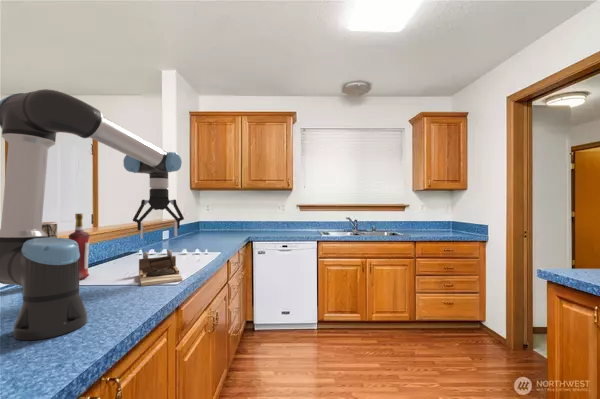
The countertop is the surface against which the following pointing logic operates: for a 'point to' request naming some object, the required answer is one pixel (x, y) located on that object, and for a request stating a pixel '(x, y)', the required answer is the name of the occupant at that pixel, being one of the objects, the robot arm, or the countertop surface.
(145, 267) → the cradle
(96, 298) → the countertop surface
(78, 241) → the liquor
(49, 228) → the paper tube
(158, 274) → the clothes iron
